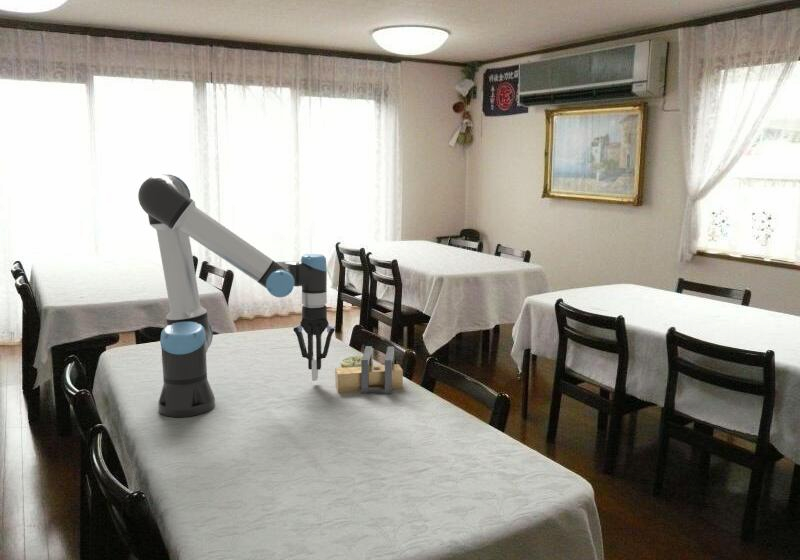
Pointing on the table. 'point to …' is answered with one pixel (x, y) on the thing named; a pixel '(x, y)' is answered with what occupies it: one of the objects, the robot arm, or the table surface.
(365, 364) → the grey cradle stand
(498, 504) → the table surface
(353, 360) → the decorated donut
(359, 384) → the tan wooden brick
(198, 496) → the table surface
